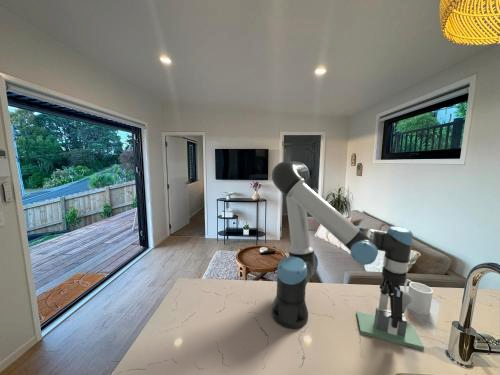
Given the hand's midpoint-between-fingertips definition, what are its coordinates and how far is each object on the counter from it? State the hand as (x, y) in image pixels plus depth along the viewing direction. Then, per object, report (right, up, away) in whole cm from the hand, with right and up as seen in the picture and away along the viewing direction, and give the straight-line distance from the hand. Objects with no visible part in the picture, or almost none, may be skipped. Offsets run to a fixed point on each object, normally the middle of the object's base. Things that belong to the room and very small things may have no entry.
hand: (386, 320), depth 82 cm
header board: (0, -4, 0) cm, 4 cm away
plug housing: (+1, -3, 0) cm, 3 cm away
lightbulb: (+12, -4, +10) cm, 16 cm away
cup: (+23, -3, +16) cm, 28 cm away
